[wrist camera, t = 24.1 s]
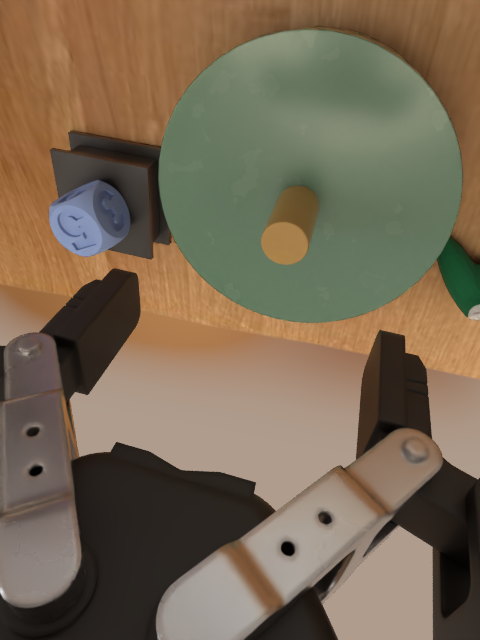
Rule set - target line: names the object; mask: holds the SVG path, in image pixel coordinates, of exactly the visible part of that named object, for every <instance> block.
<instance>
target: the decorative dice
mask: <svg viewBox="0 0 480 640" xmlns="http://www.w3.org/2000/svg"><path fill="white" fill-rule="evenodd" d="M49 220H50V225H51V229H52V231H53V233H54V235H55V237H56V238H57V240H58V241H59V242H60V243H61V244H62V245H63V246H64V247H65V248H66V249H68V250H69V251H71V252H73V253H75V254H77V255H80V256H84V257H89V256H93V255H96V254H99V253H101V252H104V251H106V250H108V249H109V248H111V247H113V246H115V245H116V244H118V243H119V242H120V241H122V240H123V239H124V238H125V237H126V236H127V235H128V233H129V229H130V214H129V210H128V207H127V205H126V202H125V200H124V199H123V197H122V196H121V194H120V193H119V192H118V191H117V190H116V189H115V188H113V187H112V186H111V185H109V184H107V183H105V182H103V181H100V180H96V181H92V182H90V183H87V184H85V185H82V186H80V187H78V188H76V189H74V190H72V191H70V192H68V193H66V194H65V195H63V196H61V197H60V198H58V199H57V200H55V201H54V202H53V203H52V204H51V205H50V210H49Z"/></svg>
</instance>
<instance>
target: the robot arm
mask: <svg viewBox="0 0 480 640" xmlns="http://www.w3.org/2000/svg"><path fill="white" fill-rule="evenodd" d="M139 317H140V296H139V283H138V276H137V274H136V273H133V272H128V271H124V270H120V269H115V268H114V269H112V270H111V271H110V272H109V273H108V274H107V275H106V276H105V278H104V279H103V280H102V281H101V280H97V279H96V280H94V281H92V282H90V283H88V284H86V285H85V286H83V287H82V288H81V289H80V290H79V291H78V292H77V293H76V294H75V295H74V296H73V298H71V300H69V302H68V303H66V306H64V307H63V308H62V309H61V310H60V311H59V312H58V313H57V314H56V315H55V316H54V317H53V318H52V319H51V320H50V321H49V322H48V323H47V325H46V326H45V327H44V328H43V329H42V330H41V331H40V332H39V333H27V334H24V335H21V336H18V337H16V338H15V339H13V340H12V341H10V342H9V343H8V345H7V346H0V640H338V638H337V636H336V634H335V632H334V629H333V627H332V625H331V623H330V621H329V618H328V616H327V614H326V612H325V610H324V607H323V605H322V604H323V603H324V602H325V601H326V600H327V599H328V598H329V597H330V596H331V595H332V594H333V593H335V592H336V590H338V589H339V587H341V585H342V584H343V583H344V582H345V581H346V580H347V579H348V578H349V577H350V576H351V574H352V573H353V572H354V571H355V569H356V568H357V567H358V566H359V565H360V564H361V563H362V562H363V561H364V560H365V559H366V558H367V557H368V556H369V555H370V554H371V553H372V552H373V551H375V549H377V548H378V547H379V546H380V545H381V544H382V543H383V542H384V541H385V540H386V539H387V538H388V537H389V536H390V535H391V534H392V533H393V532H394V531H395V530H396V529H397V528H399V527H400V526H401V527H402V528H404V529H405V530H407V531H409V532H410V533H412V534H413V535H415V536H417V537H418V538H420V539H421V540H423V541H424V542H426V543H428V544H429V545H431V546H432V547H433V640H480V478H479V479H476V478H474V477H472V476H470V475H469V474H467V473H465V472H463V471H461V470H459V469H458V468H456V467H454V466H453V465H451V464H450V463H449V462H447V461H446V460H445V459H444V458H443V457H442V453H441V451H440V449H439V447H438V445H437V444H436V443H435V442H434V441H433V440H432V435H431V422H430V410H429V397H428V386H427V372H426V368H425V366H424V365H423V363H422V361H421V360H420V358H419V356H417V355H413V354H408V353H405V336H404V335H400V334H395V333H391V332H387V331H382V330H380V331H379V332H378V334H377V337H376V339H375V342H374V345H373V347H372V350H371V352H370V355H369V358H368V360H367V363H366V366H365V369H364V373H363V378H362V386H361V399H360V413H359V426H358V439H357V440H358V441H357V453H356V461H354V462H353V463H352V464H350V465H349V466H347V467H346V468H343V467H342V466H337V467H335V468H333V469H332V470H330V471H329V472H328V473H326V474H325V475H324V476H323V477H321V478H320V479H318V480H317V481H316V482H314V483H313V484H312V485H310V486H309V487H308V488H307V489H305V490H304V491H302V492H301V493H300V494H298V495H297V496H296V497H294V498H293V499H292V500H291V501H289V502H288V503H287V504H285V505H284V506H283V507H281V508H280V509H279V510H277V511H275V510H274V509H273V508H272V507H271V506H270V505H269V504H268V503H267V502H265V501H264V500H263V499H262V498H260V497H259V496H257V495H255V494H254V490H255V485H256V482H252V481H249V480H245V479H242V478H238V477H235V476H232V475H228V474H225V473H221V472H204V471H183V470H180V469H178V468H176V467H174V466H173V465H171V464H169V463H168V462H166V461H164V460H163V459H161V458H159V457H158V456H156V455H154V454H153V453H151V452H149V451H146V450H142V449H139V448H135V447H132V446H128V445H125V444H121V443H118V442H116V443H115V445H114V447H113V449H112V450H111V452H103V453H94V454H89V455H86V456H82V457H79V453H78V448H77V441H76V435H75V429H74V422H73V416H72V409H71V403H70V398H71V396H72V395H73V394H74V392H78V393H82V394H86V395H88V394H89V393H90V391H91V390H92V388H93V387H94V386H95V384H96V383H97V381H98V380H99V379H100V377H101V376H102V374H103V373H104V371H105V370H106V369H107V367H108V366H109V364H110V363H111V361H112V360H113V359H114V357H115V356H116V354H117V353H118V351H119V350H120V348H121V347H122V346H123V344H124V343H125V341H126V340H127V338H128V337H129V336H130V334H131V333H132V331H133V330H134V329H135V327H136V325H137V323H138V321H139Z"/></svg>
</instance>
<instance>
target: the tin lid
mask: <svg viewBox="0 0 480 640" xmlns="http://www.w3.org/2000/svg"><path fill="white" fill-rule="evenodd" d="M462 183H463V170H462V159H461V152H460V148H459V144H458V140H457V136H456V132H455V129H454V127H453V125H452V122H451V120H450V118H449V115H448V113H447V110H446V108H445V107H444V105H443V104H442V102H441V100H440V99H439V97H438V96H437V94H436V92H435V91H434V89H433V88H432V87H431V86H430V85H429V83H428V82H427V81H426V80H425V79H424V78H423V76H422V75H421V74H420V73H419V72H418V71H417V70H416V69H415V68H413V67H412V66H411V65H410V64H409V63H407V62H406V61H405V60H404V59H403V58H401V57H400V56H399V55H397V54H395V53H394V52H392V51H390V50H389V49H387V48H385V47H384V46H382V45H380V44H379V43H376V42H374V41H371V40H368V39H366V38H363V37H361V36H358V35H356V34H351V33H347V32H342V31H338V30H334V29H321V28H299V29H288V30H282V31H278V32H274V33H270V34H266V35H262V36H259V37H257V38H255V39H252V40H250V41H247V42H245V43H243V44H240V45H239V46H237V47H235V48H234V49H232V50H230V51H229V52H227V53H225V54H224V55H222V56H220V57H219V58H218V59H216V60H215V61H214V62H213V63H212V64H210V65H209V66H208V67H207V68H206V69H205V70H203V71H202V72H201V73H200V74H199V76H198V77H197V78H196V79H195V80H194V81H193V82H192V83H191V85H190V86H189V87H188V88H187V90H186V91H185V93H184V94H183V96H182V97H181V99H180V100H179V102H178V103H177V105H176V107H175V109H174V111H173V113H172V115H171V118H170V120H169V122H168V125H167V128H166V131H165V134H164V137H163V141H162V146H161V152H160V158H159V189H160V198H161V202H162V207H163V212H164V215H165V218H166V221H167V224H168V227H169V229H170V231H171V233H172V235H173V238H174V240H175V242H176V244H177V245H178V247H179V249H180V250H181V252H182V253H183V255H184V257H185V258H186V259H187V261H188V262H189V263H190V264H191V266H192V267H193V268H194V269H195V271H196V272H197V273H198V274H199V275H200V276H201V277H202V278H203V279H204V280H205V281H206V282H207V283H208V284H210V285H211V286H212V287H213V288H215V289H216V290H217V291H218V292H220V293H221V294H223V295H224V296H226V297H227V298H229V299H230V300H232V301H233V302H235V303H237V304H239V305H241V306H243V307H245V308H247V309H249V310H252V311H254V312H257V313H259V314H262V315H265V316H269V317H272V318H276V319H281V320H287V321H292V322H305V323H318V322H331V321H338V320H344V319H348V318H352V317H356V316H359V315H362V314H365V313H368V312H370V311H373V310H375V309H377V308H379V307H381V306H383V305H385V304H387V303H389V302H391V301H392V300H394V299H395V298H397V297H399V296H400V295H402V294H403V293H405V292H406V291H407V290H408V289H409V288H410V287H412V286H413V285H414V284H415V283H416V282H418V281H419V280H420V278H421V277H422V276H423V275H424V274H425V273H426V272H427V271H428V270H429V269H430V268H431V266H432V265H433V264H434V262H435V261H436V259H437V258H438V257H439V255H440V254H441V252H442V251H443V249H444V247H445V245H446V243H447V241H448V239H449V237H450V235H451V233H452V230H453V227H454V225H455V222H456V219H457V216H458V212H459V207H460V202H461V197H462Z"/></svg>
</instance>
